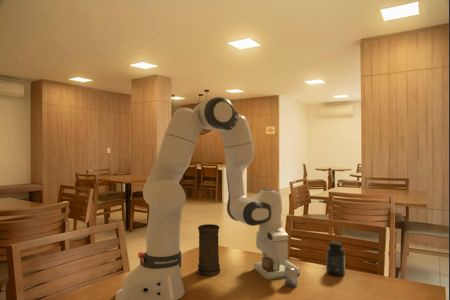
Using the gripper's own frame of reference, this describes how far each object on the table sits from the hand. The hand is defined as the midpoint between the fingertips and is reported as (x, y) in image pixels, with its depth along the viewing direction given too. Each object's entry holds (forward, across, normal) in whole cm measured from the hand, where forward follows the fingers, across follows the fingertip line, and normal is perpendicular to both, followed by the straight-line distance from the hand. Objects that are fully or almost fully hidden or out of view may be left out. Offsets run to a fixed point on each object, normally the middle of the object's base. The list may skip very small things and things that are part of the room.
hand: (270, 266), depth 130 cm
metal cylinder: (+3, +12, +2) cm, 13 cm away
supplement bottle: (+3, +8, +24) cm, 25 cm away
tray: (+3, -1, +3) cm, 4 cm away
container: (+3, -10, -22) cm, 24 cm away
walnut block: (+2, 0, 0) cm, 2 cm away
